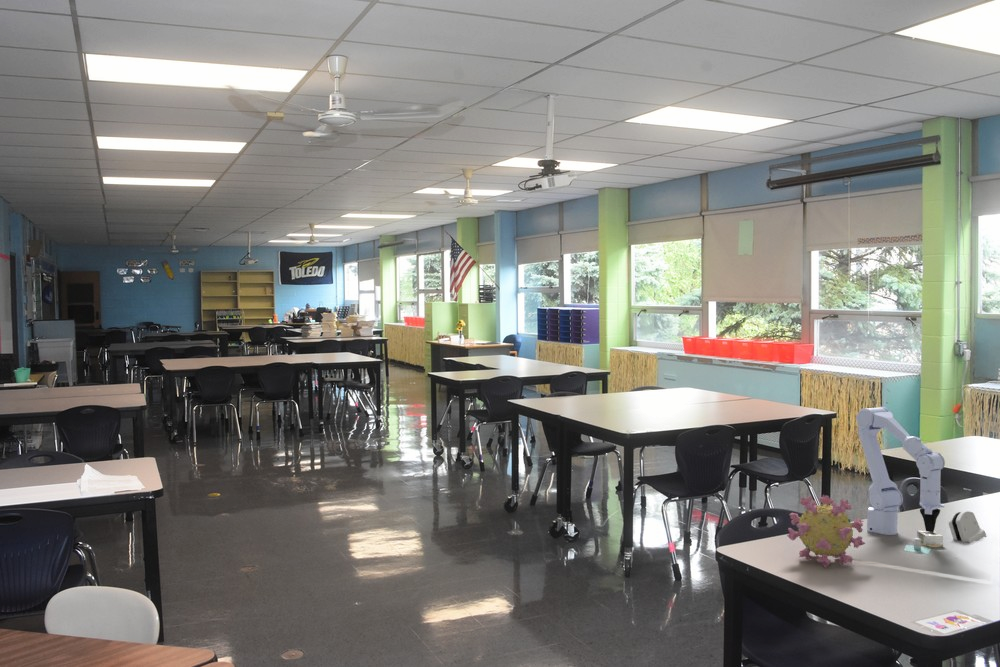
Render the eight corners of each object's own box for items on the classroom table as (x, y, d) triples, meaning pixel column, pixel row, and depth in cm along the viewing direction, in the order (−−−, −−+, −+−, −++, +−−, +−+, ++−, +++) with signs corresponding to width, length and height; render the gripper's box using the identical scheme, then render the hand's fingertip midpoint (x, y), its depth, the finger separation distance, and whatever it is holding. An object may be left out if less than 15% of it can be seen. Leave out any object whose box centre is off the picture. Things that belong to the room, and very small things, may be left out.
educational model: (791, 546, 253) (791, 487, 252) (866, 555, 243) (866, 494, 242) (783, 568, 232) (784, 503, 231) (865, 579, 222) (865, 512, 222)
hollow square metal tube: (925, 544, 249) (925, 535, 249) (917, 539, 255) (917, 530, 254) (943, 545, 249) (943, 535, 249) (934, 539, 254) (934, 530, 254)
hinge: (971, 546, 252) (960, 516, 254) (956, 548, 255) (945, 518, 257) (986, 535, 263) (976, 506, 265) (972, 537, 266) (961, 508, 268)
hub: (917, 546, 251) (917, 535, 251) (919, 540, 256) (919, 530, 256) (941, 549, 247) (941, 538, 247) (943, 544, 253) (943, 533, 252)
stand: (903, 552, 245) (903, 540, 245) (906, 546, 251) (906, 534, 250) (928, 556, 241) (928, 543, 241) (930, 550, 247) (930, 537, 247)
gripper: (942, 496, 241) (942, 538, 241) (945, 487, 253) (945, 527, 253) (917, 493, 245) (917, 535, 245) (921, 484, 257) (921, 524, 257)
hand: (929, 531), depth 249 cm, fingers closed
